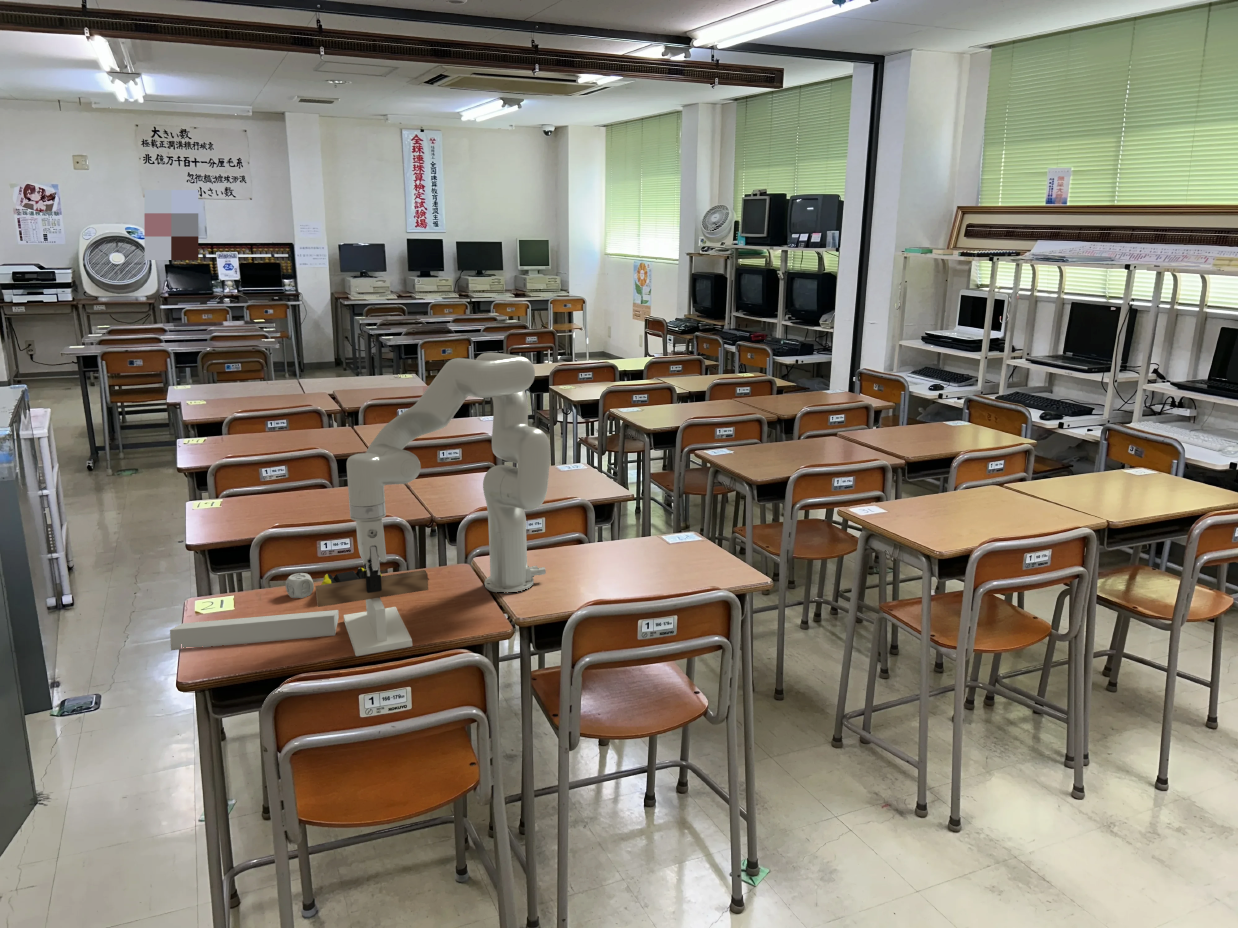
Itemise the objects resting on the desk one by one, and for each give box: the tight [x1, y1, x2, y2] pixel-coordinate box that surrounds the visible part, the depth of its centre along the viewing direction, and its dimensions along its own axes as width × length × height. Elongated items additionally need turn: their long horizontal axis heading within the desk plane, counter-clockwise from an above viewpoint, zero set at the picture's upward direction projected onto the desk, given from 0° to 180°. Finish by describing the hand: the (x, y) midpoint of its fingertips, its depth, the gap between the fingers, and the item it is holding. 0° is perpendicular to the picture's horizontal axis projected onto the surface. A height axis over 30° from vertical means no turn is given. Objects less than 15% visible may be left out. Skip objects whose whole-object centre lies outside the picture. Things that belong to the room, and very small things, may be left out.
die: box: [285, 572, 315, 599], centre depth 221 cm, size 5×5×5 cm
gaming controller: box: [320, 567, 383, 585], centre depth 224 cm, size 15×6×10 cm
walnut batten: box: [314, 569, 429, 608], centre depth 197 cm, size 24×3×4 cm, turn 114°
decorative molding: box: [169, 609, 340, 651], centre depth 200 cm, size 34×5×10 cm
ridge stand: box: [343, 597, 413, 657], centre depth 199 cm, size 12×20×9 cm, turn 24°
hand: (373, 588), depth 197 cm, fingers closed on walnut batten, 2 cm apart
